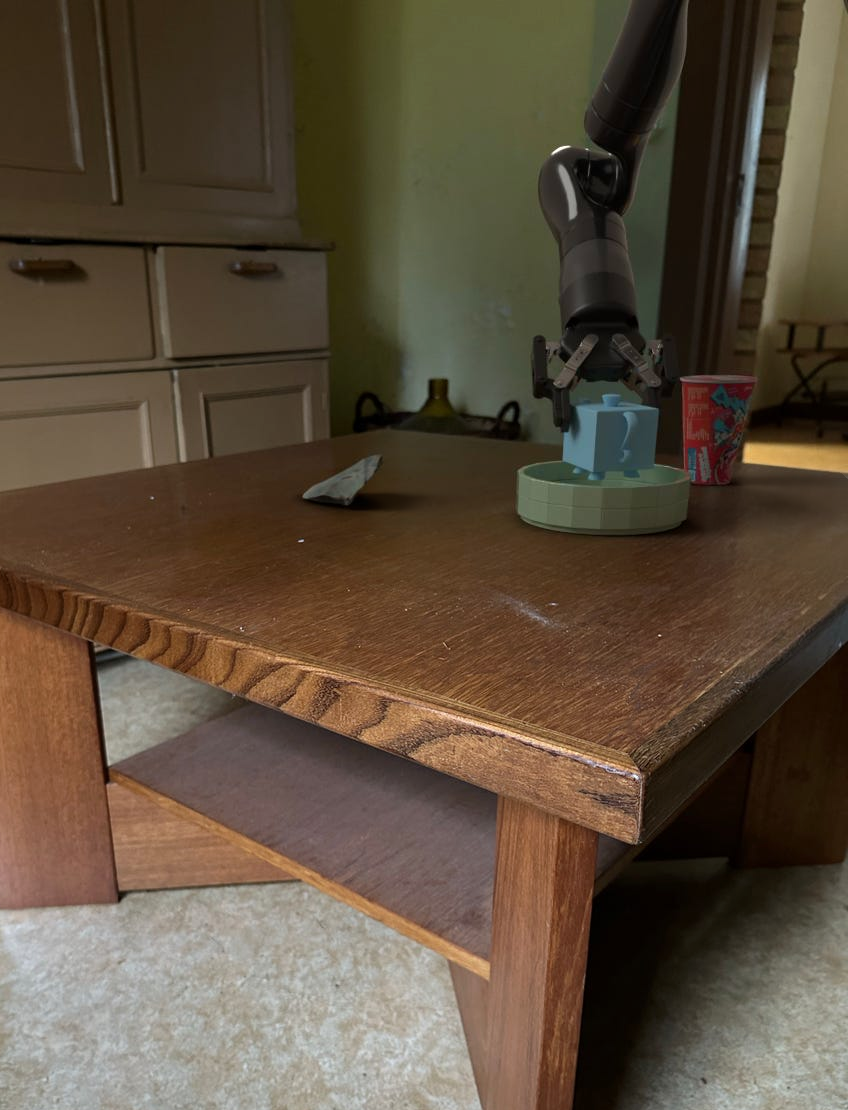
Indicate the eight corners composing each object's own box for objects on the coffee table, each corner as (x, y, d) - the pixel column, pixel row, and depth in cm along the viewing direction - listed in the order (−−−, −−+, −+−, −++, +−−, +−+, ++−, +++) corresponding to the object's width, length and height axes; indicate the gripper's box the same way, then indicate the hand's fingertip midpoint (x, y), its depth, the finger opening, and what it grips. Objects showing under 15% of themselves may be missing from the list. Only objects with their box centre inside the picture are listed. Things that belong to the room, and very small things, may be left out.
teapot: (549, 464, 94) (553, 389, 92) (603, 461, 95) (609, 387, 93) (599, 485, 83) (605, 400, 81) (660, 481, 84) (668, 398, 82)
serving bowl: (664, 501, 98) (668, 459, 96) (706, 536, 82) (712, 486, 81) (510, 501, 99) (511, 460, 97) (523, 536, 83) (525, 487, 82)
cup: (757, 487, 105) (770, 378, 101) (683, 488, 105) (694, 380, 101) (727, 473, 113) (738, 373, 109) (658, 474, 114) (668, 374, 110)
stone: (304, 523, 95) (395, 493, 94) (291, 486, 94) (383, 455, 94) (309, 512, 105) (391, 484, 105) (297, 479, 105) (380, 451, 104)
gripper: (530, 270, 90) (536, 402, 83) (677, 267, 89) (696, 400, 82) (523, 325, 97) (528, 452, 90) (660, 323, 96) (676, 451, 89)
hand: (608, 427), depth 86 cm, fingers closed on teapot, 7 cm apart
